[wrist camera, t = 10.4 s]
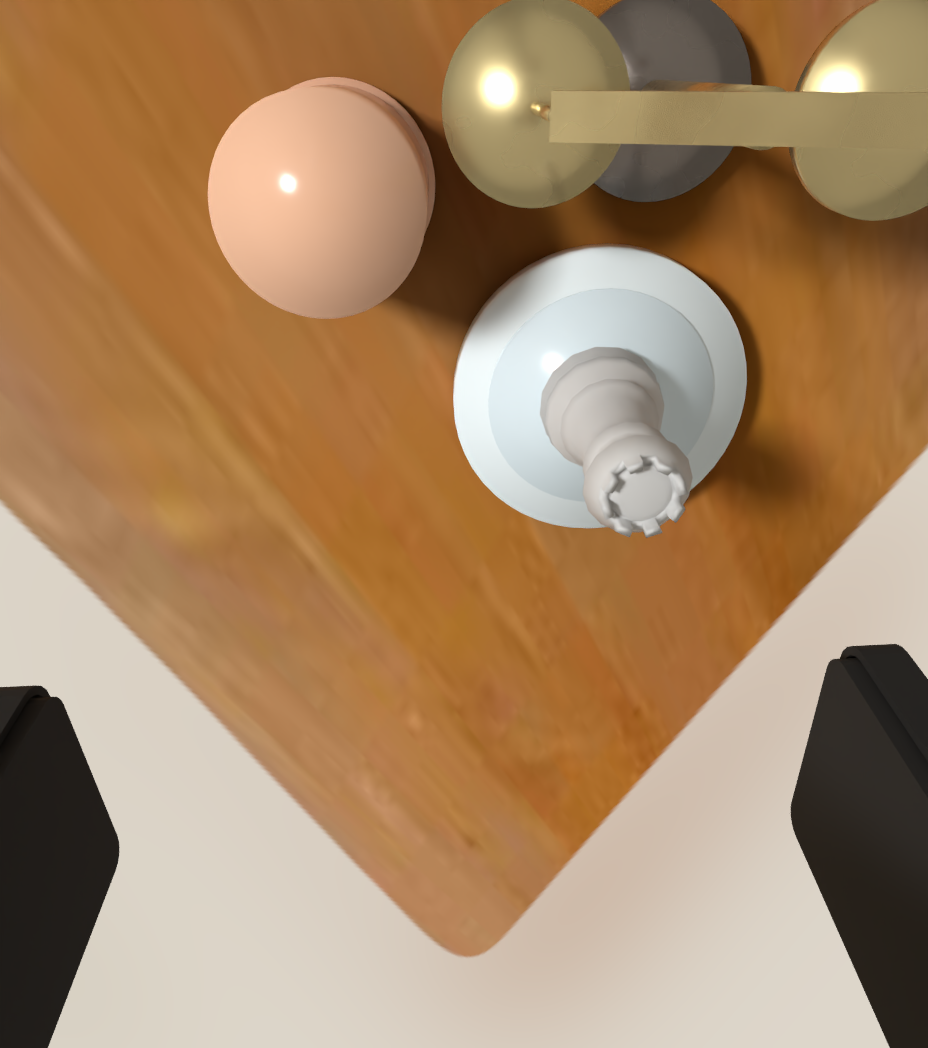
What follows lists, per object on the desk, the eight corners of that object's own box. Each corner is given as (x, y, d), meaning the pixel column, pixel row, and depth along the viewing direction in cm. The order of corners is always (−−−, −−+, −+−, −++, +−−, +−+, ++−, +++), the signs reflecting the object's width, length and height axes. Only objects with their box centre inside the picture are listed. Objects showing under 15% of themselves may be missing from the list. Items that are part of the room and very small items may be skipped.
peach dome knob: (235, 76, 26) (181, 78, 21) (433, 77, 26) (431, 79, 21) (259, 279, 29) (219, 325, 24) (436, 278, 29) (435, 325, 24)
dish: (452, 243, 28) (452, 251, 27) (760, 242, 29) (773, 249, 28) (454, 515, 34) (454, 531, 33) (713, 512, 34) (722, 528, 33)
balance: (440, -10, 25) (439, -70, 14) (877, -9, 25) (1209, -68, 14) (443, 198, 28) (443, 283, 17) (833, 197, 28) (1081, 279, 17)
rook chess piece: (682, 387, 30) (755, 484, 23) (603, 475, 32) (648, 590, 25) (591, 317, 29) (640, 397, 22) (513, 412, 30) (535, 516, 23)
